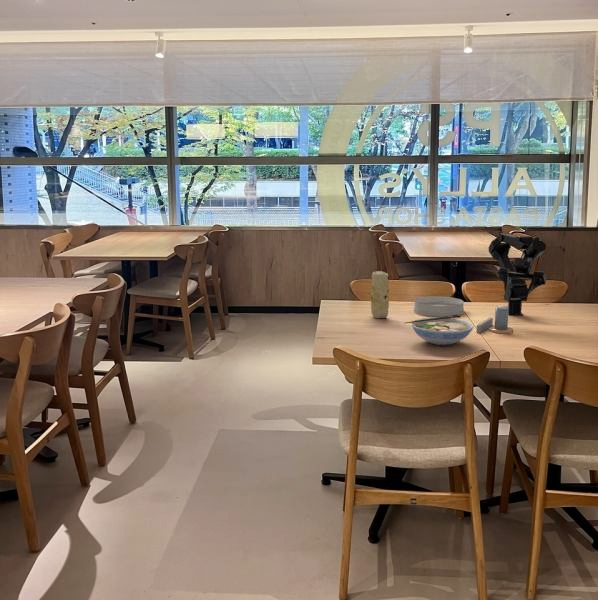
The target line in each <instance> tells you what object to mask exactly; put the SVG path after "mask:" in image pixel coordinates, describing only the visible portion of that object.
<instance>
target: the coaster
mask: <svg viewBox="0 0 598 600" xmlns="http://www.w3.org/2000/svg"><path fill="white" fill-rule="evenodd" d="M494 327H495V325H494V326H493V325H492V326H490V327H488V331H489V332H490V333H494V332H495V333H494V334H503V333H504V334H511V333H510V332H512V331H513V332H514V329H513V328H512V327H510V326H509V327H508V329H507V330H496V329H494ZM513 332H512V333H513Z"/></svg>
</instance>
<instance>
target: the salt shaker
mask: <svg viewBox="0 0 598 600" xmlns="http://www.w3.org/2000/svg"><path fill="white" fill-rule="evenodd" d="M508 311H509V309H508V305H496V307H495V311H494V313H495V314H494V326H495V327H494V329H496V330H507V329H508V326H509V325H508V324H509V315H508Z"/></svg>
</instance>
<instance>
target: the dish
mask: <svg viewBox="0 0 598 600" xmlns="http://www.w3.org/2000/svg"><path fill="white" fill-rule="evenodd" d="M413 305H414V306H413V311H414V313H416V314H418V313H419V315H423V316H429V317H443V316H450V315H456V314H457V315H460V316H461V315H463V314H464V311H465V309H464V305H465V304H464V300H462V299H461V298H456V297H451V296H440V295H439V296H438V295H437V296H436V295H435V296H434V295H433V296H432V295H431V296H421V297H418V298H415V299H414V304H413Z"/></svg>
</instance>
